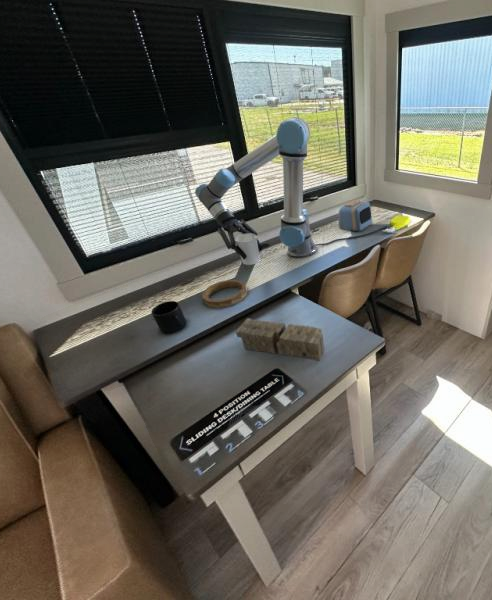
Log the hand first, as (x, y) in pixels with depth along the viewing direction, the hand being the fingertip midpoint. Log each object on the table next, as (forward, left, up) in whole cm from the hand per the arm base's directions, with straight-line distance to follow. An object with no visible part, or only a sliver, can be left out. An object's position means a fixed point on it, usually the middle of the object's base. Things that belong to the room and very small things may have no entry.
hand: (253, 253), depth 145 cm
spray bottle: (-87, -27, -12) cm, 91 cm away
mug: (+35, +27, -12) cm, 46 cm away
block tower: (-3, +56, -12) cm, 57 cm away
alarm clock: (-64, -40, -12) cm, 76 cm away
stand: (+16, +11, -12) cm, 23 cm away
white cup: (+2, -3, -5) cm, 6 cm away
